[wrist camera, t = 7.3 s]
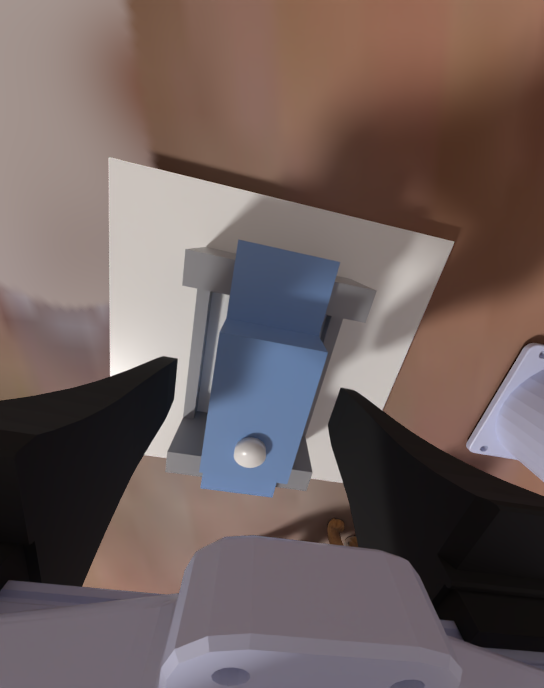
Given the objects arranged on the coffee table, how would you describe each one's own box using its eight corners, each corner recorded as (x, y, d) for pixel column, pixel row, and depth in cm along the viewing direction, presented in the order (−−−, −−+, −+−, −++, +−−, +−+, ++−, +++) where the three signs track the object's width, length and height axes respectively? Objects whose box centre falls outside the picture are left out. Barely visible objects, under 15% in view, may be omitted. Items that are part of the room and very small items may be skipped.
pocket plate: (444, 241, 13) (517, 242, 10) (347, 474, 19) (368, 534, 15) (118, 162, 12) (46, 123, 8) (117, 441, 18) (74, 499, 14)
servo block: (321, 256, 12) (357, 267, 8) (270, 448, 17) (273, 536, 12) (245, 239, 12) (231, 239, 7) (213, 439, 16) (190, 527, 11)
